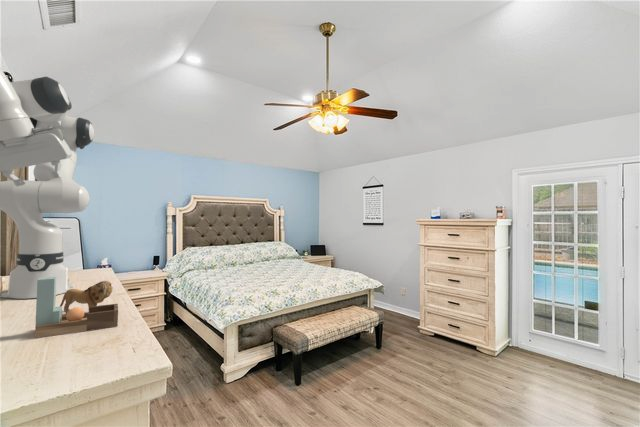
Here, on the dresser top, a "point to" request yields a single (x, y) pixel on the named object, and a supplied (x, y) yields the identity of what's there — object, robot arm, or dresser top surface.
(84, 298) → the lion figurine
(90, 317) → the dark brown open box
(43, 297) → the grey-green l-shaped block
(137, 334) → the dresser top surface
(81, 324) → the lane
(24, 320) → the dresser top surface
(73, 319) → the ball
